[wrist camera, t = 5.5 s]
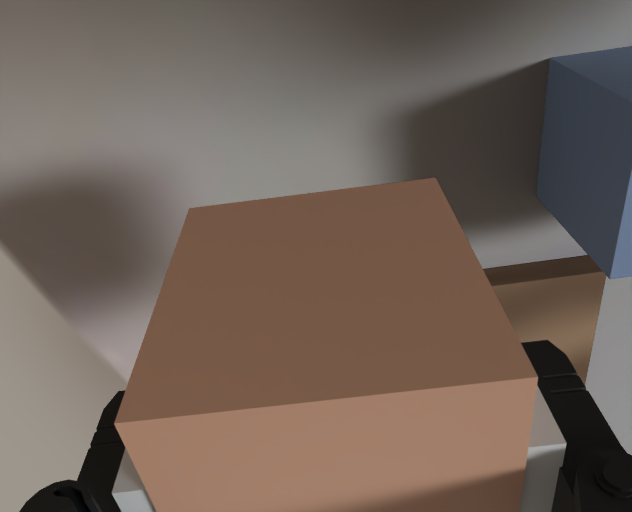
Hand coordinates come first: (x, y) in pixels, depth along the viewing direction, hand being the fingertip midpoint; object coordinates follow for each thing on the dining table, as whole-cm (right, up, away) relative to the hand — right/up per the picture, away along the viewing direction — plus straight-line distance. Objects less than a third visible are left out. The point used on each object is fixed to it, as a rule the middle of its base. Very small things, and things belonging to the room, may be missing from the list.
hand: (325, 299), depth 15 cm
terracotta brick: (0, 0, 0) cm, 0 cm away
